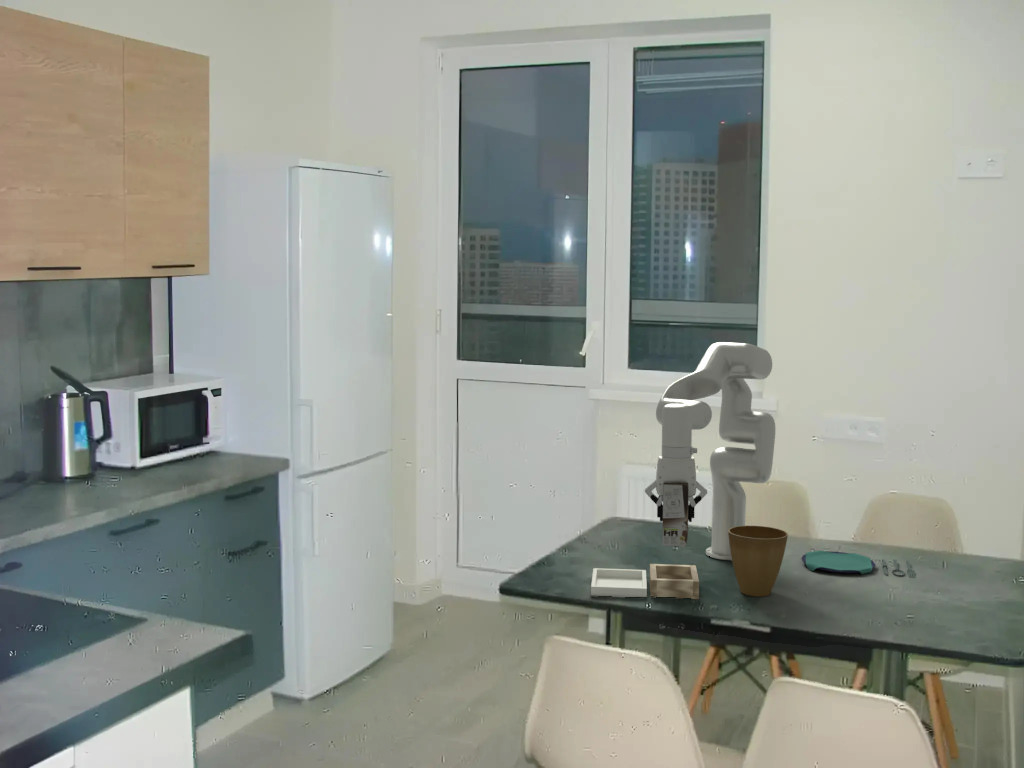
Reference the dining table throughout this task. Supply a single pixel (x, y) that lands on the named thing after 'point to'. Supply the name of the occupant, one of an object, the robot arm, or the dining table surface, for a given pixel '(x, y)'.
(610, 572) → the tray
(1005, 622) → the dining table surface
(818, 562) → the cutlery set
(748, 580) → the plant pot
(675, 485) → the coffee box
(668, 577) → the holder
